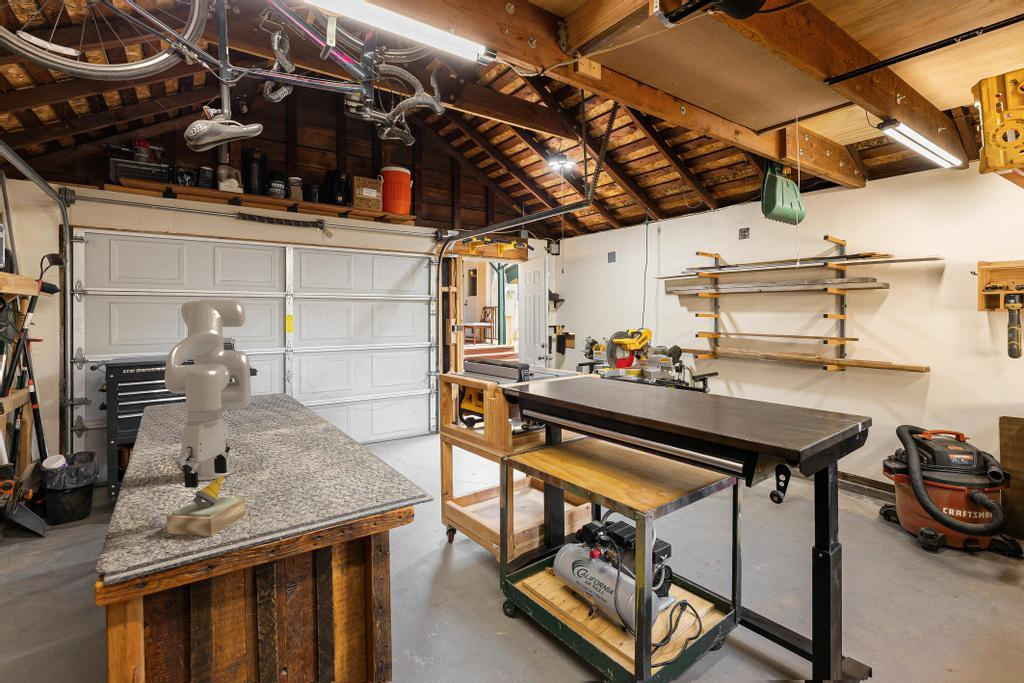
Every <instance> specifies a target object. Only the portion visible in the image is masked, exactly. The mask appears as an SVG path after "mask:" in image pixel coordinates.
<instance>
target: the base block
mask: <svg viewBox="0 0 1024 683" xmlns="http://www.w3.org/2000/svg"><path fill="white" fill-rule="evenodd" d="M216 499H217V502H216V503H215V504H212V505H211V506H210V508H204V509H197V508H198V506H197V505H196V503H195V502H194V501H193V502H192V503H190V504H188V505H186V506H184V507H182V508H180V509H178V510H175V511H174V512H172V513H171V514H169V515H167V516H166V528H167V529H166V532H167V534H173V535H190V536H202V537H203V536H204V537H212V536H214V535H216V534H217V533H219V532H220V531H222V530H223V529H225V528H226V527H227V528H228V526H230V525H232V524H233V523H235V522H237V521H238V520H240V519H242V518H243V517H244V516H246V499H244V498H237V497H235V498H234V497H218V496H217V498H216ZM201 501H202V502H206V501H204V500H201Z"/></svg>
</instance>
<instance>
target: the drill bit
mask: <svg viewBox="0 0 1024 683" xmlns="http://www.w3.org/2000/svg"><path fill="white" fill-rule="evenodd" d="M224 475H225V474H224ZM224 475H222V476H221V477H219V478H218V479H214V480H213V482H211V483H210V484H208V485H207V486H205V487H203V488H202V489H200V490H197V491H196V492H195V494H194V495H195V497H194V498H193V503H194V502H195V503H196V505H197V506H198V508H197V509H204V508H210V506H211V505H212V504H215V503H216V502H217V499H216V498H217V497H218V495H219V492H220V491H221V490H220V489H221V487H222V483H223V481H224ZM201 500H204V501H206V502H202V501H201Z"/></svg>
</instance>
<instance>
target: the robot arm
mask: <svg viewBox="0 0 1024 683" xmlns="http://www.w3.org/2000/svg"><path fill="white" fill-rule="evenodd" d="M180 313H181V316H182V319H183V322H184V324H185V325H186V327H187V337H185V338H184V339H182V340H181V341H180V342H178V343H177V344H176V345H175V346H174V347H173V348H172V349H171V350H170V351H169V353H168V355H167V357H166V360H165V371H164V385H165V388H166V389H167V391H169V392H170V393H172V394H178V395H179V394H185V407H186V409H185V410H186V411H185V412H186V413H185V414H186V423H185V424H184V425H183V429H182V436H181V453H180V455H179V456H178V457H177V458H175V464H176V465H177V467H178V469H179V470H180V471H181V472H182V473H184V474H183V475H184V487H185V488H190V489H196V488H198V487H199V481H211V480H216V479H218V478H219V477H221V476H222V475H224V474H225V475H224V477H228V476H230V475H232V474H233V473H235V470H236V469H235V467H234V466H233V465H230V451H231V445H232V441H233V440H232V439H231V438H229V423H228V420H227V419H226V417H225V416H223V415H222V414H223V413H222V411H226V410H236V409H245V408H247V407H248V406H250V405H251V400H252V399H251V398H252V392H251V391H252V389H251V387H252V386H251V368H250V367H251V366H250V358H249V355H248V354H247V353H246V352H245V351H242V350H225V348H224V340H225V339H224V335H223V328H241V327H243V325H244V324H245V321H246V308H245V305H244V304H243V302H241V301H239V300H235V299H199V300H191V301H187V302H184V303H183V304H182V305H181V308H180ZM191 359H193V363H194V364H184V363H185V362H186V361H188V360H189V361H190V360H191ZM230 379H233V380H235V381H230Z"/></svg>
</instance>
